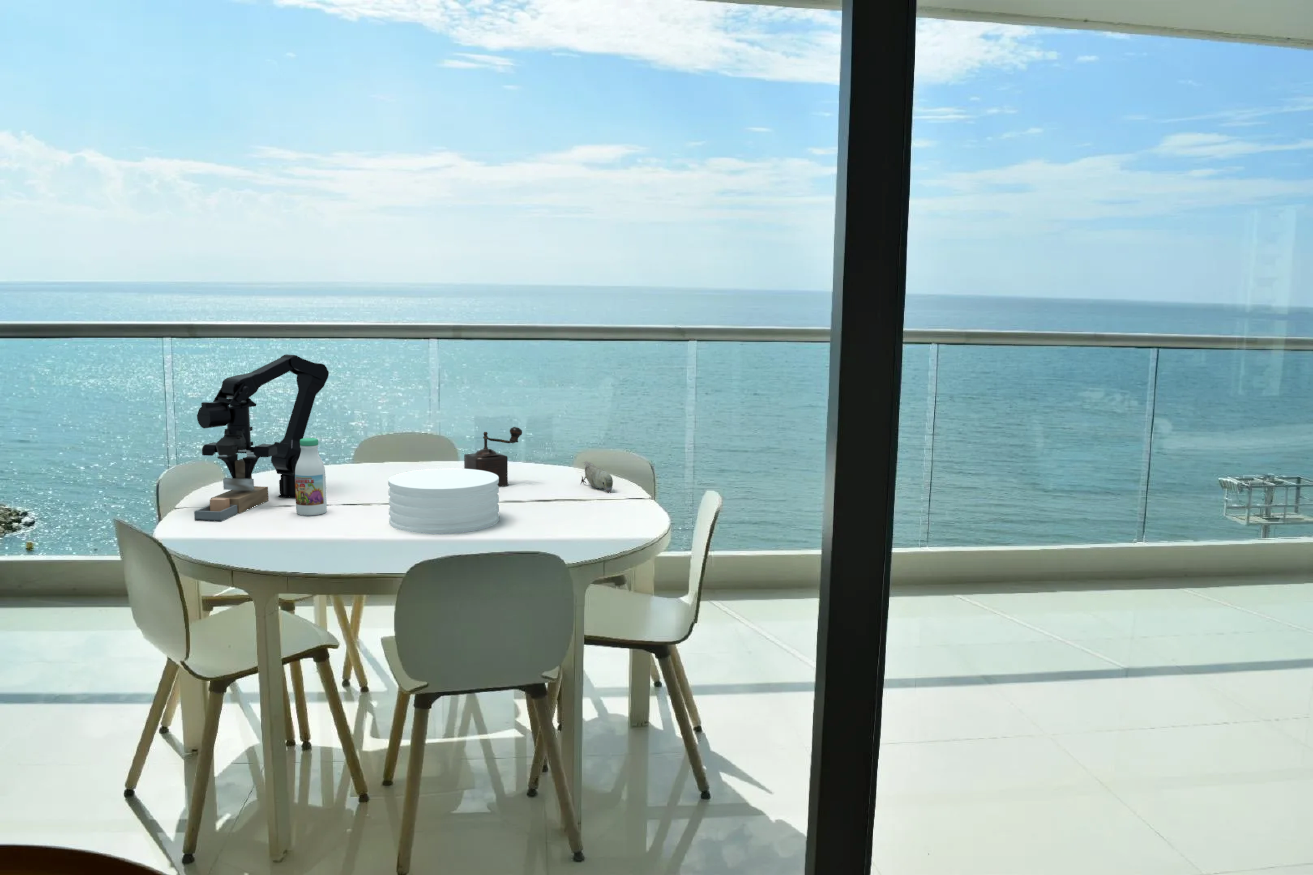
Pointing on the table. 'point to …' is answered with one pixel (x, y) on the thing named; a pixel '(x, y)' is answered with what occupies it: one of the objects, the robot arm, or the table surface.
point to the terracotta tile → (219, 504)
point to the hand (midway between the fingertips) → (241, 480)
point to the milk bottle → (310, 480)
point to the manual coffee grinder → (492, 458)
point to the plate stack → (443, 500)
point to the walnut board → (246, 497)
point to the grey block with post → (239, 479)
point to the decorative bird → (597, 477)
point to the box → (215, 514)
